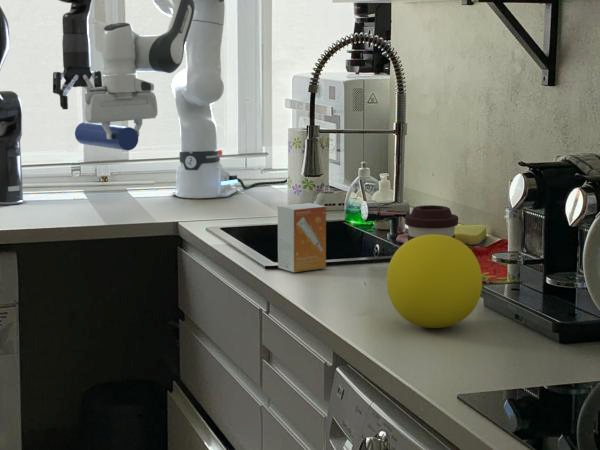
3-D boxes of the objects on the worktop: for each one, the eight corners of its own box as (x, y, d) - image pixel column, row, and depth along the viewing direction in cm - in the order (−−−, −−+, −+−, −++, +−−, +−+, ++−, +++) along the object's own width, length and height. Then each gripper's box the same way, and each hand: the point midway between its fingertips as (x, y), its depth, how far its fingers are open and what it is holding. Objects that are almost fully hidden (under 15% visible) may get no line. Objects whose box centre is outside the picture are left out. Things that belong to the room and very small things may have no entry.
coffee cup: (400, 280, 202) (400, 204, 200) (450, 279, 203) (451, 203, 201) (409, 292, 193) (410, 212, 190) (462, 291, 193) (463, 211, 191)
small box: (294, 273, 210) (293, 209, 208) (277, 268, 215) (276, 205, 213) (327, 268, 215) (326, 205, 212) (309, 263, 220) (309, 202, 218)
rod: (75, 145, 293) (74, 123, 292) (95, 143, 297) (93, 121, 296) (118, 151, 275) (117, 128, 274) (139, 149, 279) (137, 126, 278)
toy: (451, 310, 179) (452, 224, 177) (498, 332, 165) (500, 239, 163) (371, 319, 174) (371, 230, 171) (412, 342, 160) (413, 246, 157)
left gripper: (92, 50, 300) (94, 107, 303) (46, 50, 291) (49, 109, 294) (105, 50, 294) (107, 108, 297) (59, 50, 285) (61, 110, 288)
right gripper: (90, 87, 267) (94, 141, 269) (159, 83, 280) (161, 135, 282) (79, 87, 272) (82, 140, 274) (146, 83, 285) (149, 134, 287)
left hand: (78, 108), depth 295 cm, fingers open, 8 cm apart
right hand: (123, 137), depth 278 cm, fingers closed on rod, 6 cm apart
